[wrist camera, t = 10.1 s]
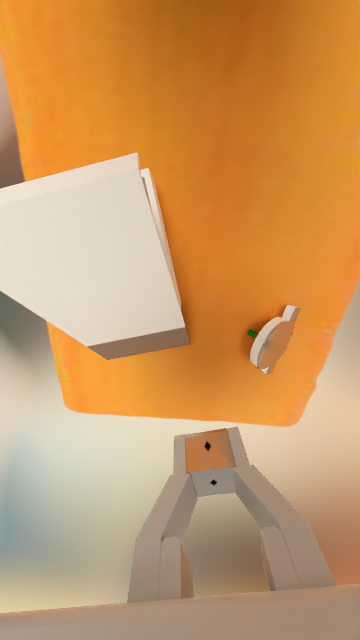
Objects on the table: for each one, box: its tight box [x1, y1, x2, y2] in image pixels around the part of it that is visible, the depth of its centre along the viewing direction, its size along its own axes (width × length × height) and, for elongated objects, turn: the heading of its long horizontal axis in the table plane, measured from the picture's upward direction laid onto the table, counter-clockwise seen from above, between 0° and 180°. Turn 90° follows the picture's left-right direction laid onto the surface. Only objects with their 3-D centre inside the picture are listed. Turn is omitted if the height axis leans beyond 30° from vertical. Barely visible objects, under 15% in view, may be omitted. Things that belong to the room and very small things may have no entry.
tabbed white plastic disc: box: [248, 305, 301, 375], centre depth 39 cm, size 15×8×11 cm
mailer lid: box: [0, 153, 190, 360], centre depth 27 cm, size 30×17×3 cm
